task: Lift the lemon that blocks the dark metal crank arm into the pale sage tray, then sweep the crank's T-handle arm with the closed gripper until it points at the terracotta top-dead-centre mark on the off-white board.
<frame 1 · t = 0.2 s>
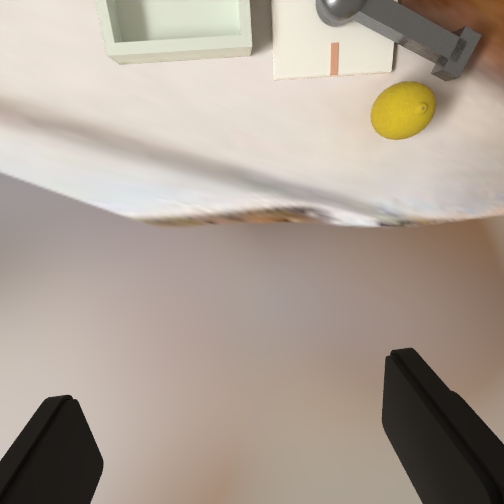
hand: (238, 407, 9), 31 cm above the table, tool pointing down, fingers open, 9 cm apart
crank: (396, 23, 30), point 3 cm above the table, hinge at 65.0°
lemon: (381, 114, 35), on the table
crank board: (333, 5, 31), on the table
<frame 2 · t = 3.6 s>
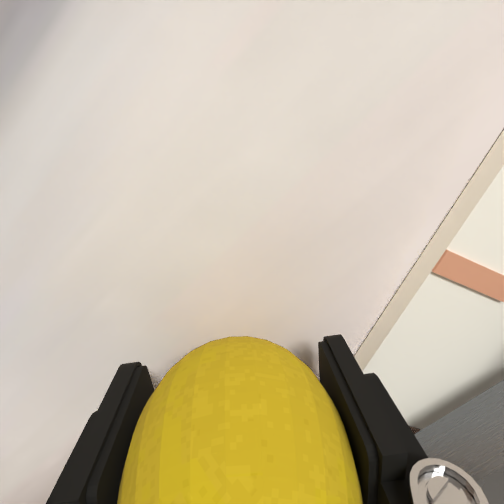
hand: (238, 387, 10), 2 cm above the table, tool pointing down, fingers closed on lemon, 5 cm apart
crank: (469, 461, 10), point 3 cm above the table, hinge at 65.0°
lemon: (237, 352, 11), on the table, touching gripper
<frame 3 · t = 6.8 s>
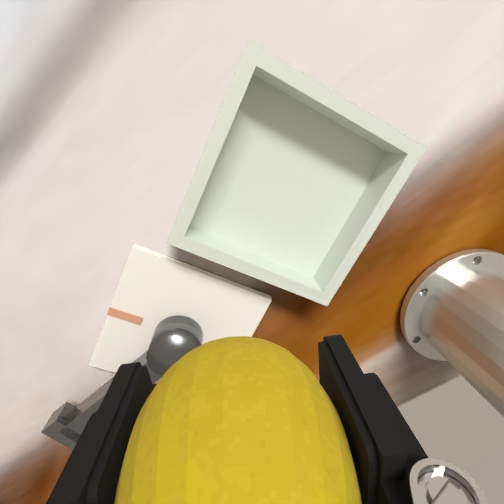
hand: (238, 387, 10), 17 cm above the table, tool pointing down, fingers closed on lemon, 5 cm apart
crank: (127, 384, 27), point 3 cm above the table, hinge at 65.0°
lemon: (236, 351, 11), point 15 cm above the table, touching gripper
crank board: (180, 327, 28), on the table
tray: (284, 188, 25), on the table
when the fingers open (4 cm above the table, at t = 10.3 s): lemon drops 2 cm, resting on tray.
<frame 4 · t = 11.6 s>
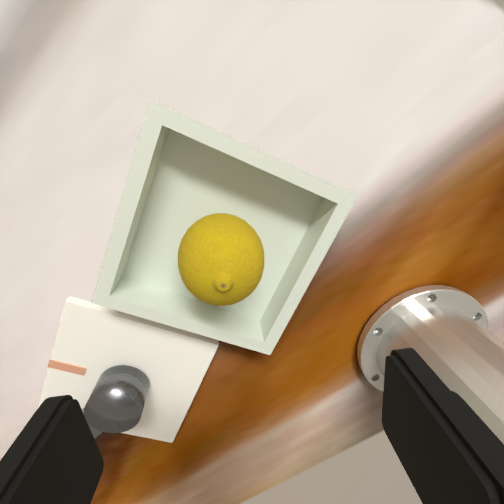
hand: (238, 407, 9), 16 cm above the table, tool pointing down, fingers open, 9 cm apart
crank: (72, 436, 26), point 3 cm above the table, hinge at 65.0°
lemon: (220, 236, 23), resting on tray
crank board: (128, 374, 28), on the table
tray: (221, 234, 24), on the table
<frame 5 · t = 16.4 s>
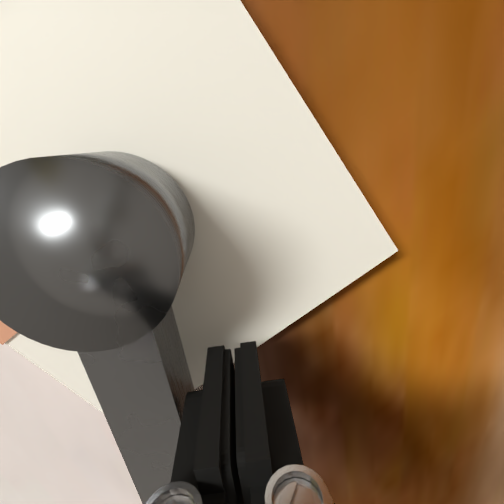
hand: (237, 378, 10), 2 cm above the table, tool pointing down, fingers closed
crank: (160, 416, 10), point 3 cm above the table, hinge at 59.8°, touching gripper
crank board: (133, 217, 10), on the table
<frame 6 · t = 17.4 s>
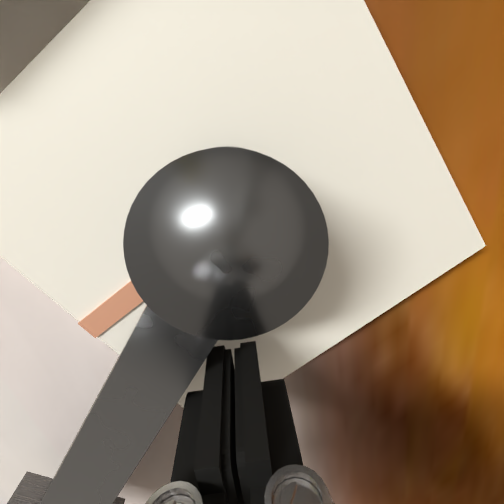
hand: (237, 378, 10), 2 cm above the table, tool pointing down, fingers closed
crank: (134, 396, 9), point 3 cm above the table, hinge at 21.5°, touching gripper
crank board: (229, 212, 10), on the table
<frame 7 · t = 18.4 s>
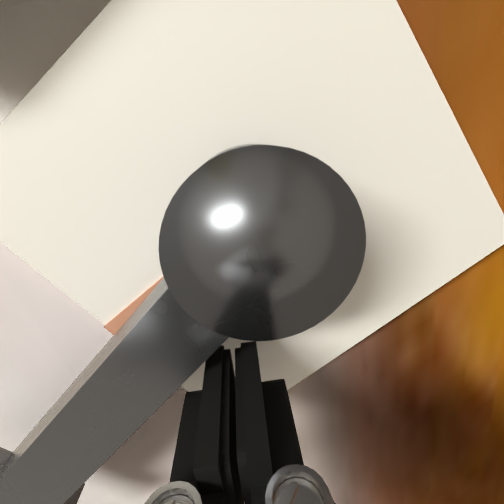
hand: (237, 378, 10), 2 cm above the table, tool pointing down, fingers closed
crank: (123, 380, 9), point 3 cm above the table, hinge at 8.6°
crank board: (251, 211, 10), on the table
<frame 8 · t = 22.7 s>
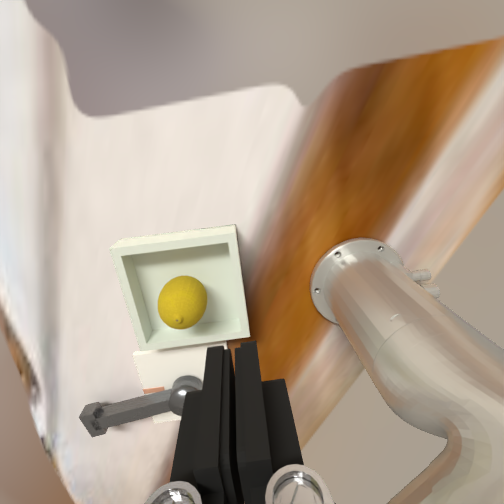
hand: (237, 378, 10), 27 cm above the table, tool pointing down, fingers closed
crank: (144, 406, 42), point 3 cm above the table, hinge at 8.6°
lemon: (188, 284, 38), resting on tray
crank board: (188, 381, 44), on the table
tray: (188, 282, 39), on the table
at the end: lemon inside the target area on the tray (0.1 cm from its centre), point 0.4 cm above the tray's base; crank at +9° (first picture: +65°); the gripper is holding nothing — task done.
